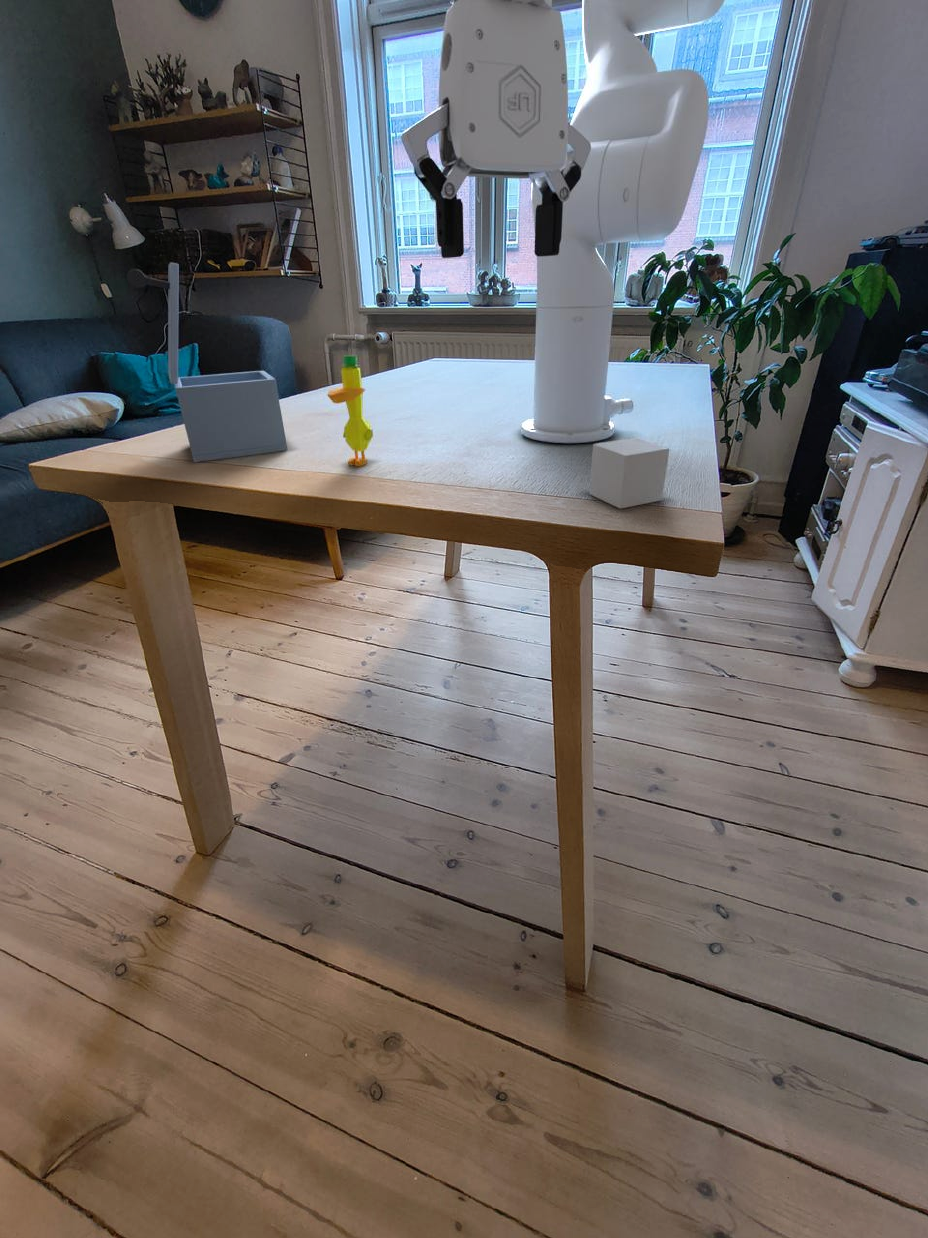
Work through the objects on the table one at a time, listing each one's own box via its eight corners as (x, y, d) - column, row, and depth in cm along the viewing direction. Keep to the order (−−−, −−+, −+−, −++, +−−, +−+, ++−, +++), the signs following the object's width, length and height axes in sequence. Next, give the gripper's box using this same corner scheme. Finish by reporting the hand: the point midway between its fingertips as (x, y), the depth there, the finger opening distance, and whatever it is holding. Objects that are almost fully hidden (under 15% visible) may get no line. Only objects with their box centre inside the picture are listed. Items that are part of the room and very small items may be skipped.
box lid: (175, 266, 72) (128, 254, 70) (178, 264, 65) (126, 251, 62) (175, 374, 77) (131, 367, 75) (177, 384, 70) (129, 376, 67)
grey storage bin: (275, 435, 86) (263, 370, 81) (287, 450, 78) (275, 379, 74) (190, 445, 82) (172, 377, 77) (194, 462, 74) (175, 387, 70)
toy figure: (352, 473, 68) (338, 360, 62) (327, 469, 70) (311, 359, 64) (385, 458, 73) (375, 352, 67) (361, 455, 75) (350, 352, 69)
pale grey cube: (629, 486, 61) (634, 437, 59) (662, 500, 57) (669, 448, 55) (588, 494, 59) (592, 443, 57) (620, 509, 56) (625, 455, 53)
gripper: (414, -55, 38) (429, 256, 47) (626, -13, 45) (605, 253, 53) (376, -9, 44) (395, 259, 53) (568, 22, 51) (557, 256, 59)
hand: (501, 256), depth 53 cm, fingers open, 9 cm apart
